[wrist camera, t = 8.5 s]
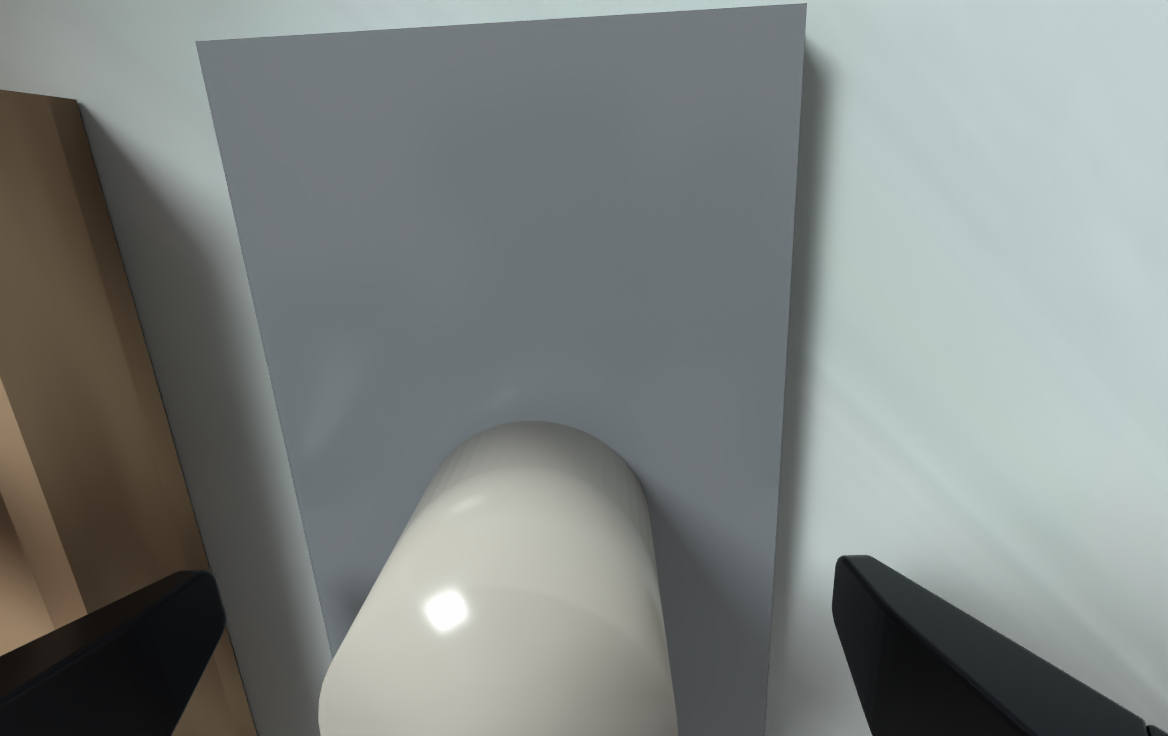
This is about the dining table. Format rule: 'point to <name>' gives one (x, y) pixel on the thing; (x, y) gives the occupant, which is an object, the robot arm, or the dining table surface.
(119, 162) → the dining table surface
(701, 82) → the slate board
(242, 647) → the dining table surface
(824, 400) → the dining table surface
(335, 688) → the pebble
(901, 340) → the dining table surface
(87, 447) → the walnut bin
